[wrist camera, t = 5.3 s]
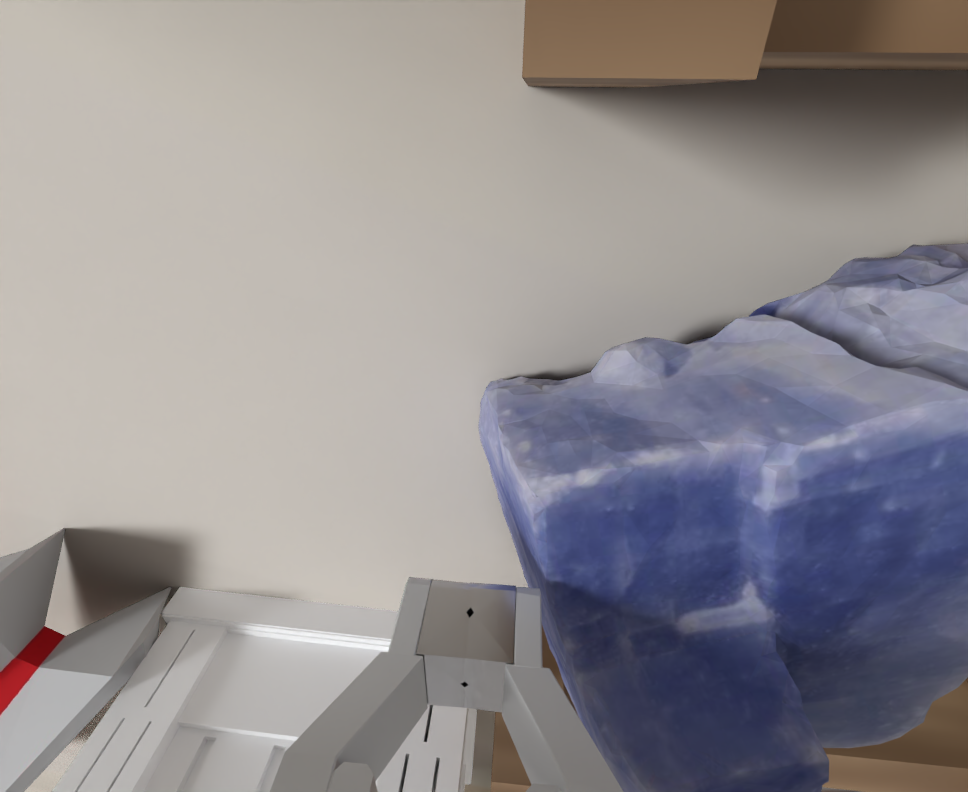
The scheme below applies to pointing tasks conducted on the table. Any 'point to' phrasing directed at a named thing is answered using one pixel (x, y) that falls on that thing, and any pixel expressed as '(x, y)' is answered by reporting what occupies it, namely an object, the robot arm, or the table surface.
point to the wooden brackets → (735, 57)
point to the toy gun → (57, 663)
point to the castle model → (253, 700)
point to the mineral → (754, 528)
